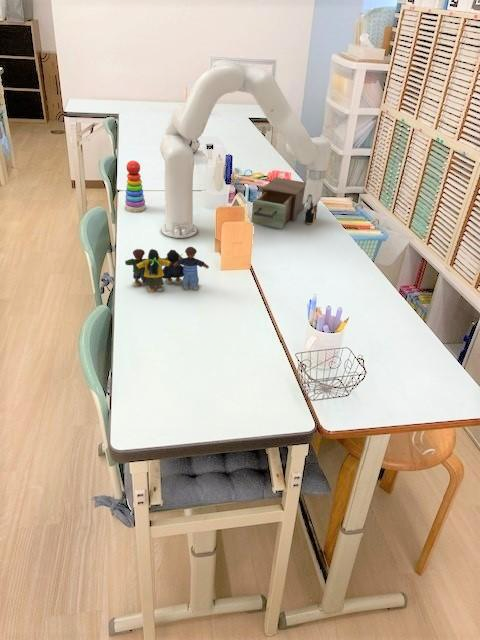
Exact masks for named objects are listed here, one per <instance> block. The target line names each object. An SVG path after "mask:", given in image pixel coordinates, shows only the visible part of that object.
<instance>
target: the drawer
mask: <svg viewBox="0 0 480 640" xmlns="http://www.w3.org/2000/svg"><path fill="white" fill-rule="evenodd" d="M293 200H294V196H290V195H285V194H279V193H274V192H269V191H265V192H264V193H263V194H262V193H261V195H260V196H258V197H257V198H253V199H252V209H251V223H252V224H258V225H262V226H267V227H272V228H276V229H282V230H283V229H284V227H285V224H286V223H287V222H288V221H289V220H288V219H289V218H290V217H291V216H292V209H293Z"/></svg>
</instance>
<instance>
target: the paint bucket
mask: <svg viewBox="0 0 480 640" xmlns="http://www.w3.org/2000/svg"><path fill="white" fill-rule="evenodd" d="M200 144H201V143H200V140H199V138H198V139H196V140H191V142H190V144H189V146H190V148H191V149H192V152H193V154H194V153H196V152H198V150H199V149H198V148H200Z"/></svg>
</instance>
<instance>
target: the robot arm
mask: <svg viewBox="0 0 480 640" xmlns="http://www.w3.org/2000/svg"><path fill="white" fill-rule="evenodd" d="M235 92H241V93H246V94H250V95H252V97H253V98H254V100H255V101H256V103H257V105H258V106H259V108H260V110H261V111H262V113H263V115H264V116H265V118H266V119H267V121H268V123H269V125H271V127H272V128H273V129H274V130H275V131H276V132H277V133H278V134H279V135H280V136H281V138H283V140H284V141H285V143H286V144H285V150H286V153H287V154H288V155H289V157H291V158H292V159H293V160H295V161H296V162H298V164H300V165H304V166H306V171H305V177H306V181H305V183H306V186H305V191H304V197H303V204H305V206H306V207H305V212H304V213H305V215H304V222H305V223H306V222H308V223H313V218H314V213H313V212H314V206H316V212H315V219H314V221H315V220H316V219H317V212H318V203H319V202H320V201H321V198H322V194H323V189H324V188H323V187H324V181H325V180H327V176H328V168H329V162H330V154H331V148H332V141H331V140H330V139H329V138H327V137H324V136H315V137H311V135H310V134H309V132H308V131H307V129H306V128H305V126H304V124H303V123H302V122H301V121H300V119H299V118H298V116H297V114H296V113H295V112H294V110H293V109H292V107H291V105H290V103H289V101H288V99H287V98H286V97H285V95H284V92H283V91H282V90H281V87H280V86H279V84H278V82H277V80H276V78H274V76H273V74H272V73H271V72H269V71H268V70H266V69H263V68H262V67H259V66H253V65H249V64H244V63H241V62H236V61H233V60H228V59H219V60H217V61H215V62H214V63H213V64H212V66H211V68H210V69H208V70H207V71H205V72H204V73H203V74H201V76H199V77H198V78H197V79H196V81H195V82H194V84H193V86H192V88H191V90H190V92H189V94H188V96H187V98H186V101H185V102H184V103H182V104H179V105H178V106H177V107H176V108H175V109H174V110H173V111H172V113H171V114H170V118H169V120H168V123H167V125H166V128H165V131H164V133H163V135H162V138H161V141H160V146H159V151H160V154H161V157H162V158H163V161H164V201H165V202H164V203H165V207H164V208H165V224H163V225H162V227H161V232H162V234H163V235H165V236H166V237H169V238H175V239H185V238H190V237H193V236H195V235H196V234H197V232H198V227H197V226H196V225H195V224H194V213H193V212H194V209H193V208H194V187H193V186H194V168H195V156H194V153H193V152H192V149H191V148H190V146H189V144H190V142H191V140H196V139H198V140H199V138H200V137H201V136H202V135H203V134H204V131H205V129H206V126H207V124H208V122H209V119H210V116H211V114H212V112H213V109H214V107H215V105H216V104H217V102H218V100H219V99H220V98H222V97H223V96H224V95H227V94H232V93H235ZM311 207H312V208H311Z"/></svg>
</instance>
